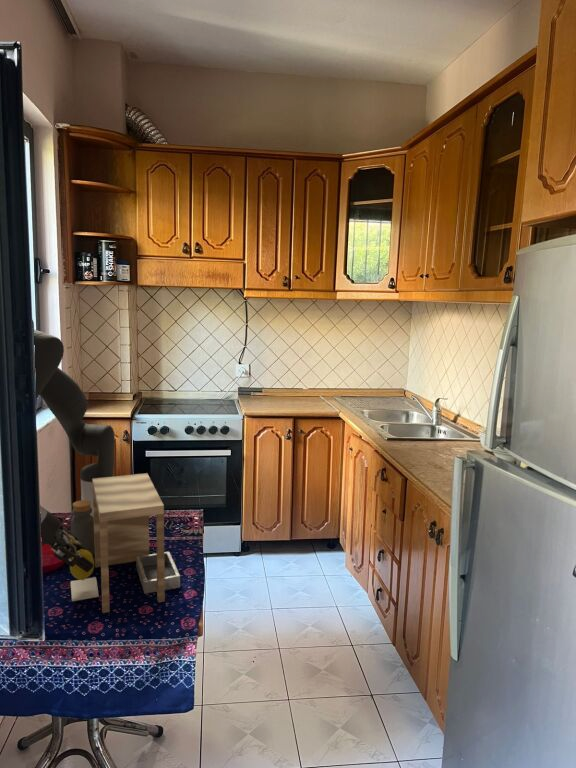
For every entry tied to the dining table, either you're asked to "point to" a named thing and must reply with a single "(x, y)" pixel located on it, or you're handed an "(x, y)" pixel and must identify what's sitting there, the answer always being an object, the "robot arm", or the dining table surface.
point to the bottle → (83, 524)
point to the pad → (84, 589)
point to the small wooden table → (126, 525)
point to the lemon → (79, 572)
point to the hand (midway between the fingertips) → (89, 562)
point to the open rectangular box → (149, 572)
